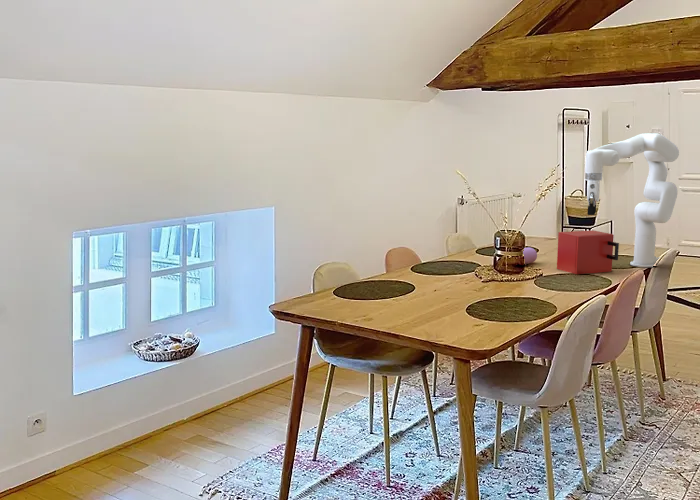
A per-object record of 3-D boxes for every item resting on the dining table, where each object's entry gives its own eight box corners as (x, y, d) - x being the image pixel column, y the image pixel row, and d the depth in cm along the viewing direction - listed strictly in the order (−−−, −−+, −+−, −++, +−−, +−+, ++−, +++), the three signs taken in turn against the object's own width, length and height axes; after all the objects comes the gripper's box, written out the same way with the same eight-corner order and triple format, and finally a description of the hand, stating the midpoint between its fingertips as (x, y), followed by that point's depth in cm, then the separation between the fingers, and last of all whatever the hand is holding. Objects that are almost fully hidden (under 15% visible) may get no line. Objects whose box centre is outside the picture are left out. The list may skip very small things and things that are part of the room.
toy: (524, 262, 366) (506, 266, 351) (525, 246, 366) (507, 248, 350) (539, 264, 362) (521, 267, 346) (540, 247, 361) (523, 250, 345)
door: (620, 273, 332) (623, 236, 329) (585, 276, 325) (587, 238, 322) (610, 271, 339) (612, 234, 336) (575, 273, 332) (576, 236, 329)
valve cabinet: (609, 271, 339) (612, 233, 336) (574, 274, 332) (576, 236, 329) (590, 266, 352) (592, 230, 349) (556, 268, 345) (558, 232, 343)
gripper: (601, 178, 319) (599, 216, 322) (602, 176, 335) (601, 212, 338) (583, 178, 322) (582, 215, 325) (586, 175, 338) (584, 211, 340)
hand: (591, 213), depth 331 cm, fingers open, 9 cm apart
